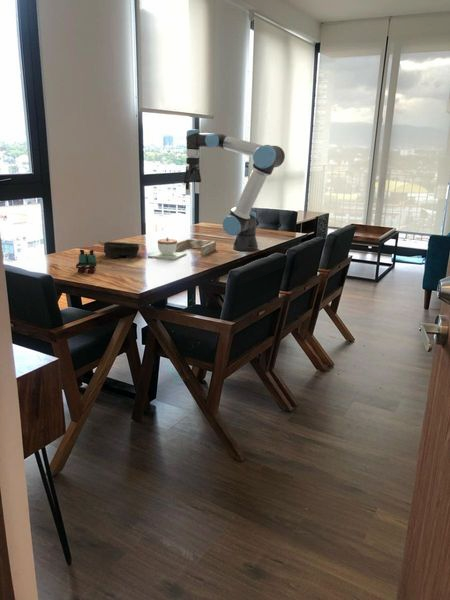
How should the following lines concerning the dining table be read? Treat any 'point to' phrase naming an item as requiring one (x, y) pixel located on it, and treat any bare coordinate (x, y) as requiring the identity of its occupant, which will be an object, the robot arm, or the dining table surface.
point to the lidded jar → (167, 246)
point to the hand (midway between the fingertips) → (192, 194)
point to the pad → (168, 257)
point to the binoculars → (86, 262)
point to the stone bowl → (120, 249)
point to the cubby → (197, 245)
